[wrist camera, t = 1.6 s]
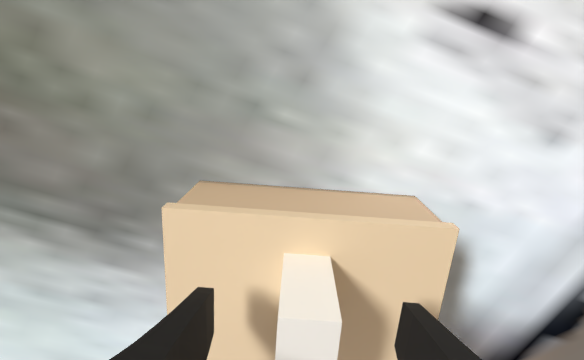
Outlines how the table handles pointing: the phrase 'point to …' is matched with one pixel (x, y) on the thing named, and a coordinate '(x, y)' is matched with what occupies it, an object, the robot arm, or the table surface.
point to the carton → (308, 200)
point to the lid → (304, 278)
